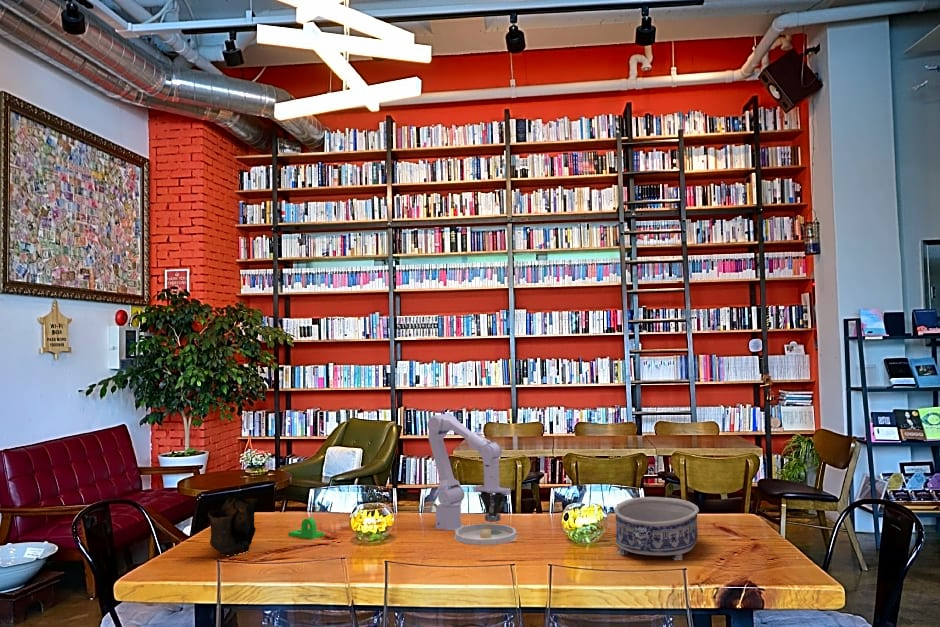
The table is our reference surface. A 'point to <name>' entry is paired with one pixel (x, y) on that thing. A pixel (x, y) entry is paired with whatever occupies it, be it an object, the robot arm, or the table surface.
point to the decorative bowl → (656, 526)
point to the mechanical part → (307, 530)
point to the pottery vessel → (233, 525)
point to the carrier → (485, 534)
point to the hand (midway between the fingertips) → (492, 512)
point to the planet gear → (492, 514)
